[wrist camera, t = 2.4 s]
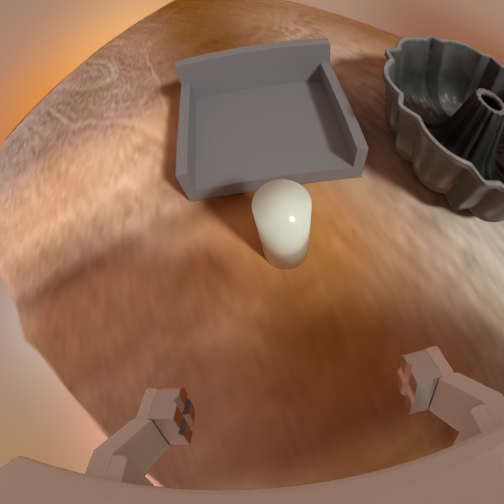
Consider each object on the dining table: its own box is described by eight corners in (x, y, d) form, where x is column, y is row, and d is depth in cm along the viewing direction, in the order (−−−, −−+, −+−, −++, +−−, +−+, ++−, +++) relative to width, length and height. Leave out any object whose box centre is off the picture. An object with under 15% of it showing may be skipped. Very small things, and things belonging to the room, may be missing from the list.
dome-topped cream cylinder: (311, 265, 30) (316, 226, 22) (266, 272, 30) (254, 235, 22) (304, 224, 31) (305, 175, 24) (260, 230, 32) (248, 183, 24)
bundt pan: (508, 110, 34) (530, 69, 25) (551, 258, 25) (598, 225, 16) (364, 73, 39) (371, 19, 30) (372, 229, 30) (398, 172, 21)
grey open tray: (361, 176, 33) (373, 127, 25) (190, 201, 34) (164, 158, 27) (325, 84, 39) (326, 38, 31) (191, 104, 40) (175, 61, 33)
